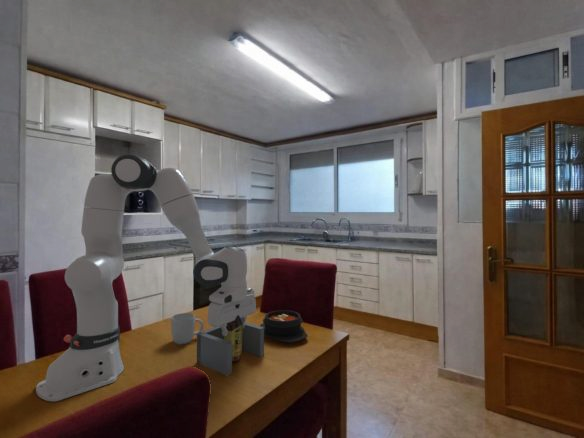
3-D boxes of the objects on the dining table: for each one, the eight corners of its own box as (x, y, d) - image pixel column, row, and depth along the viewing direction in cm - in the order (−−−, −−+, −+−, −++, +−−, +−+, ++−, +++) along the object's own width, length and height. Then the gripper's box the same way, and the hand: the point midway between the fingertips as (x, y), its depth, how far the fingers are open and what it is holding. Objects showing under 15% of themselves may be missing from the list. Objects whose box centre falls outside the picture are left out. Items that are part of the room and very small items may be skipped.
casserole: (318, 340, 126) (318, 319, 126) (279, 351, 116) (279, 328, 116) (285, 322, 147) (285, 304, 147) (250, 330, 137) (250, 311, 137)
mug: (173, 347, 118) (173, 321, 118) (169, 339, 126) (169, 315, 126) (206, 340, 125) (206, 316, 125) (200, 333, 133) (200, 310, 132)
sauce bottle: (237, 363, 105) (238, 305, 104) (220, 361, 106) (221, 303, 106) (244, 354, 111) (245, 300, 111) (228, 353, 112) (229, 298, 112)
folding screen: (227, 375, 98) (227, 344, 98) (196, 362, 107) (196, 333, 106) (263, 354, 113) (264, 327, 113) (234, 344, 121) (234, 319, 121)
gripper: (247, 286, 119) (247, 321, 119) (205, 297, 102) (204, 338, 102) (260, 288, 115) (259, 325, 115) (218, 300, 98) (217, 343, 99)
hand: (233, 331), depth 109 cm, fingers closed on sauce bottle, 6 cm apart
